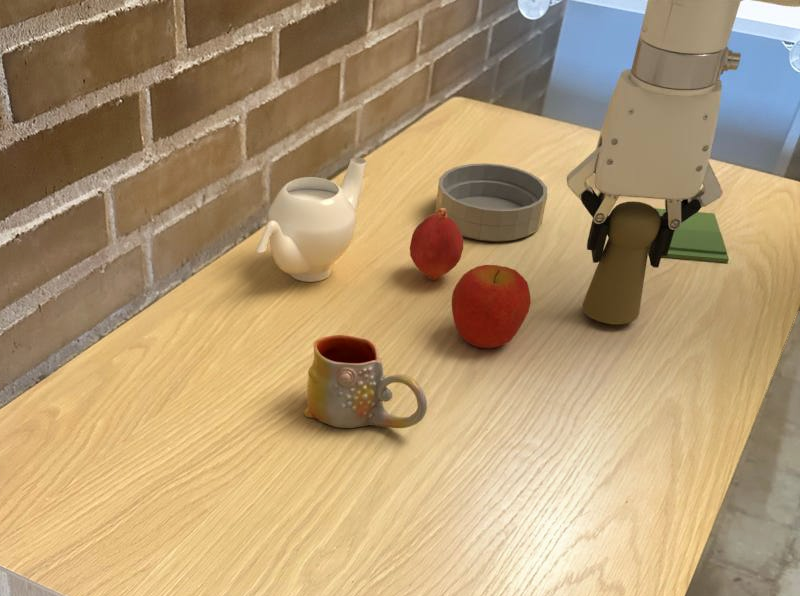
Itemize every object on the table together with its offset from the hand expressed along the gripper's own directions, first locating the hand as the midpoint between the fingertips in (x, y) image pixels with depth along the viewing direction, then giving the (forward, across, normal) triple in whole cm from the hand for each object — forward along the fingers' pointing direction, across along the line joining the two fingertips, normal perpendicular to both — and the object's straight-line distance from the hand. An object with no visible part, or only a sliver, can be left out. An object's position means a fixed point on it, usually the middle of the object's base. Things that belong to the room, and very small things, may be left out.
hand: (624, 257), depth 100 cm
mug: (+7, +24, +23) cm, 34 cm away
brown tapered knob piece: (+6, 0, 0) cm, 6 cm away
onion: (+7, +19, -5) cm, 21 cm away
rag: (+7, -11, -21) cm, 24 cm away
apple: (+7, +13, +7) cm, 16 cm away
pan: (+7, +13, -21) cm, 26 cm away
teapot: (+7, +33, -4) cm, 34 cm away
